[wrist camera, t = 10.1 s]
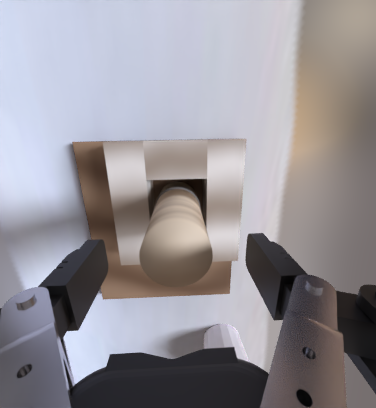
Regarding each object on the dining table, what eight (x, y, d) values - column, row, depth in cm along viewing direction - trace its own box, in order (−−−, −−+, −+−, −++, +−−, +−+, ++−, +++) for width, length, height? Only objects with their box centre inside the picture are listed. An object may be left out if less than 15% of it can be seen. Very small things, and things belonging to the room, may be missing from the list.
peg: (158, 178, 21) (133, 223, 10) (196, 177, 21) (215, 220, 10) (160, 214, 23) (141, 290, 11) (196, 213, 23) (213, 287, 11)
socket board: (79, 141, 21) (46, 142, 16) (234, 138, 22) (252, 138, 17) (106, 291, 28) (90, 326, 22) (227, 285, 28) (237, 319, 23)
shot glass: (251, 332, 31) (270, 384, 25) (223, 357, 33) (235, 413, 26) (218, 313, 30) (228, 364, 23) (191, 341, 31) (194, 395, 25)
